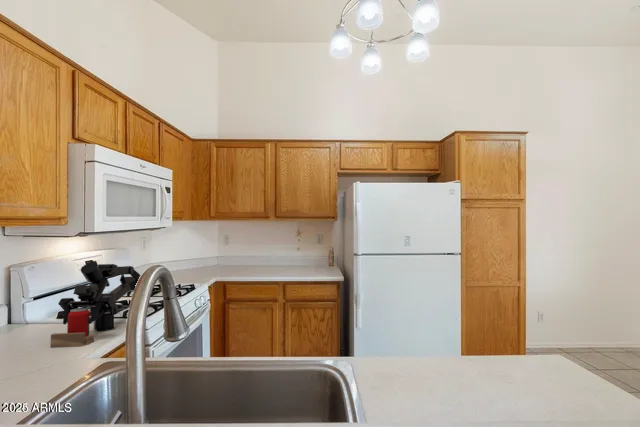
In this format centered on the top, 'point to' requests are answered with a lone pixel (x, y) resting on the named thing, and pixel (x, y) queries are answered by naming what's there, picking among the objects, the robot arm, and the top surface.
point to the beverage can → (78, 321)
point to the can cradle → (70, 339)
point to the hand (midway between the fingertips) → (76, 323)
